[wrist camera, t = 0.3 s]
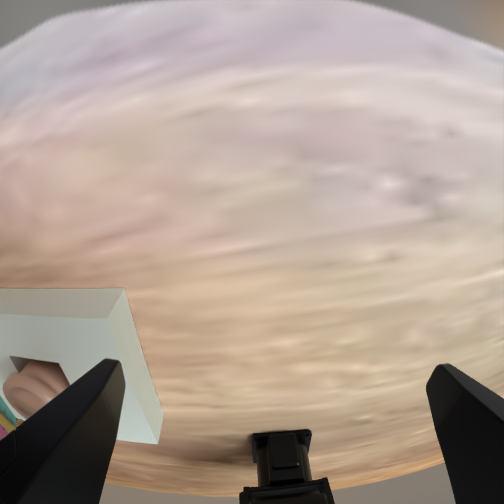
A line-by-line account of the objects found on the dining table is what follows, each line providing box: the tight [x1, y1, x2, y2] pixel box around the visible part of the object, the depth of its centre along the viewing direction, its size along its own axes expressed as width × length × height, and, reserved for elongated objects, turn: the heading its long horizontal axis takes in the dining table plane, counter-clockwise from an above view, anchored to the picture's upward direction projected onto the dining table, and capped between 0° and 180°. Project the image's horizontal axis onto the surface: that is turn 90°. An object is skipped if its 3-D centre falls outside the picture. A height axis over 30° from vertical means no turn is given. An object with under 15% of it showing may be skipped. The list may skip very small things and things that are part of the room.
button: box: [3, 359, 70, 419], centre depth 21 cm, size 6×6×4 cm
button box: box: [0, 288, 164, 444], centre depth 24 cm, size 15×18×4 cm
